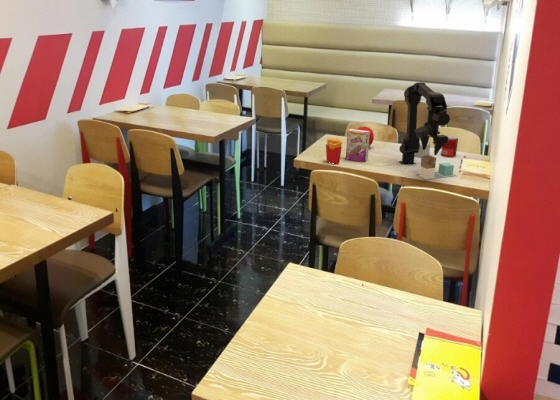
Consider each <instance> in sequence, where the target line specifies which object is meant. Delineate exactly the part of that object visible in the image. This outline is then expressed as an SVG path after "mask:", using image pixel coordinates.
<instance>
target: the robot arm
mask: <svg viewBox="0 0 560 400" xmlns="http://www.w3.org/2000/svg"><path fill="white" fill-rule="evenodd" d="M403 96H404V102H405V103H406V106H407V118H406V119H407V120H406V134H405V136H404V137H403V140H402V143H401V145H399V152H400V153H401V154H402V157H401V160H400V161H399V163H400V164H402V165H404V166H405V165H415V164H416V162H415V157H414V154H415V153H418V151H419V147H420V139H421V143H422V148H423V150H425V149H426V146H427V143H428V141H429V140H430V138H432V140H433V141H432V144H433V145H434V146H433V147H434V148H433V150H434V151H433V155H434V156H437V155H438V153H439V152H440V151H441V150H442V146H443V145H444V144H445V143H446V142H448V139H449V138H448V137H447V136H445V135H446V134H441V131H439V130H440V129H439V128H440V126H442V127H444V126H447V125H448V124H449V123H450V120H451V118H450V115H449V114H448V113H447V112H448V111H447V110H448V105H447V101H446V97H445V96H444V94H442V93H440V92H438V91H437V92H435V91H434V90H432V89H431V88H430V87H429V86H428V85H427V84H426V83H425V82H424V81H423V82H414V84H413V85H411V86H408V87H406V88H405V90H404V91H403ZM422 97H423V98H424V99H425V103H426V104H427V107H426V109H427V110H428V111H427V118H426V119H427V120H426V121H425V122H424V123H423V125H422V126H420V127H418V126H417V121H418V106H419V104H420V102H421V100H422ZM417 127H418V128H417Z"/></svg>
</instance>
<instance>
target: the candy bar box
mask: <svg viewBox="0 0 560 400" xmlns="http://www.w3.org/2000/svg"><path fill="white" fill-rule="evenodd" d="M369 136H370V131H364V130H357V129H354V128H349V129H348V130H347V136H346V149H345V152H346V153H345V160H347V161H353V162H359V163H366V162H367V161H369V160H368V157H369V148H370V146H369Z"/></svg>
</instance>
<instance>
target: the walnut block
mask: <svg viewBox="0 0 560 400" xmlns="http://www.w3.org/2000/svg"><path fill="white" fill-rule="evenodd" d="M436 163H437V157H435V156H433V155H430V154H429V155H427V156H421V158H420V167H421V166H422V167H424V168H426V169H429V168H435V169H436V166H437V165H436Z"/></svg>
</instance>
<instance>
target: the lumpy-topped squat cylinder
mask: <svg viewBox="0 0 560 400" xmlns="http://www.w3.org/2000/svg"><path fill="white" fill-rule="evenodd" d="M430 151H431V141H429V140H428V143H427V146H426V149H425V150H423V148H422V143H421V139H420V147H419V151H418V153H415V154H414V158H417V159H418V158H419V159H421V156H427V155H430Z"/></svg>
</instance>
